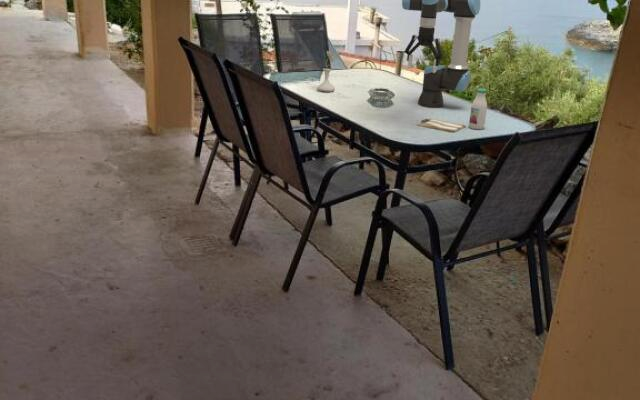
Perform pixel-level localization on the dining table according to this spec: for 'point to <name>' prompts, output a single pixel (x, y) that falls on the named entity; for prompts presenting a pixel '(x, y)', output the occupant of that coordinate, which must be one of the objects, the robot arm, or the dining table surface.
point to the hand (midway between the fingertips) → (421, 70)
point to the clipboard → (441, 125)
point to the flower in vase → (326, 85)
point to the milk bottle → (478, 110)
